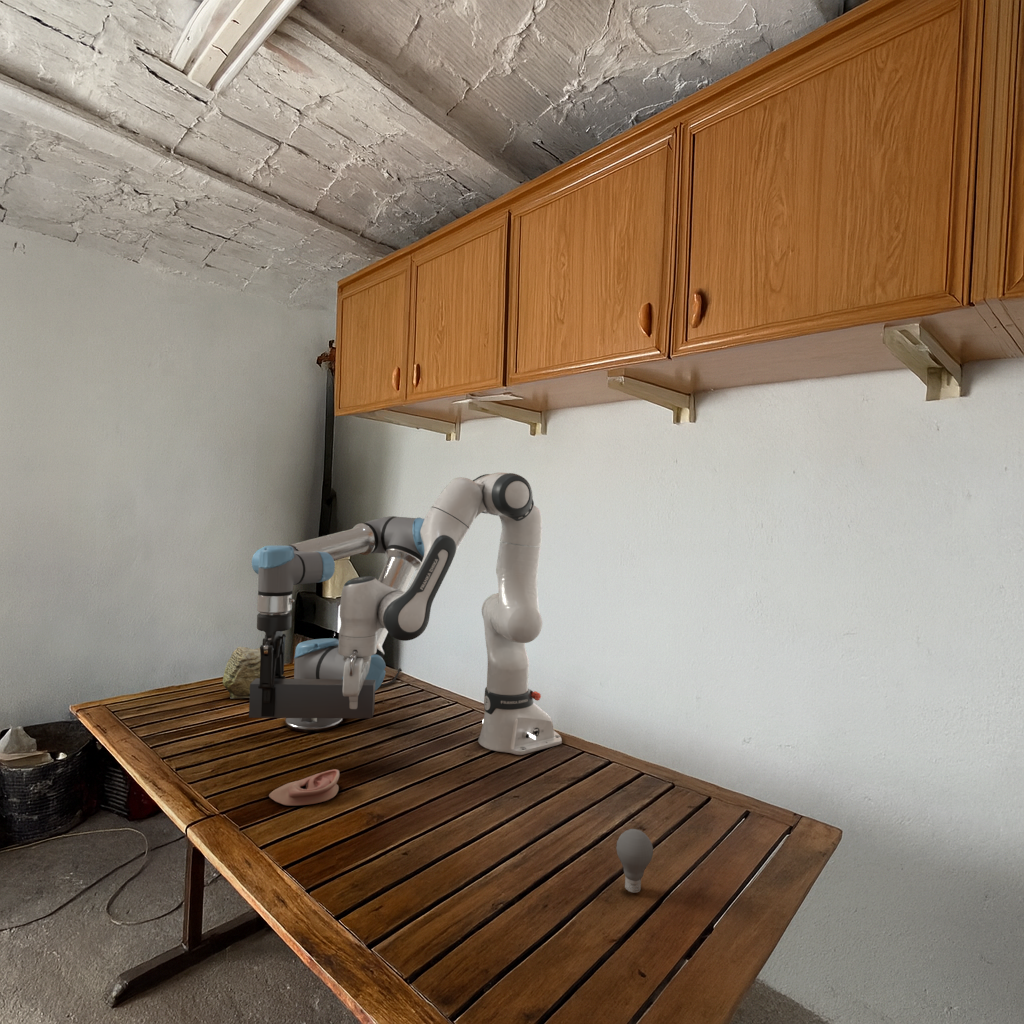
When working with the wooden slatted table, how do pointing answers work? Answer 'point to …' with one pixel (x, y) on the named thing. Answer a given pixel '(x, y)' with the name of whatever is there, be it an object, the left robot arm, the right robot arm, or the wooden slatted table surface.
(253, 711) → the bar
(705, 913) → the wooden slatted table surface
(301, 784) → the anatomical model
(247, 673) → the fossil
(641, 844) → the light bulb
